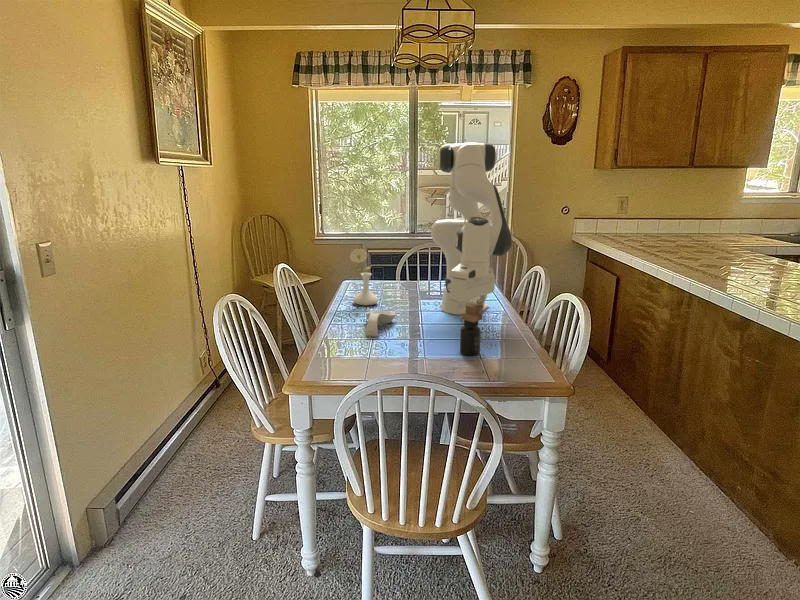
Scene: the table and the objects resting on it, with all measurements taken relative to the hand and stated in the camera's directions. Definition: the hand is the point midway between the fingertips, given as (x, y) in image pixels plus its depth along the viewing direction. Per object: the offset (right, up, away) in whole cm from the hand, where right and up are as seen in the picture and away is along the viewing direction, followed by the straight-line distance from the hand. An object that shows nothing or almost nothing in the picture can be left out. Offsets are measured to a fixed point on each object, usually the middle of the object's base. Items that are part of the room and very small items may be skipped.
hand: (472, 310), depth 166 cm
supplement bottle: (0, -15, +4) cm, 15 cm away
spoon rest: (-32, -7, +29) cm, 44 cm away
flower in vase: (-40, +1, +60) cm, 72 cm away
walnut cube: (0, -3, +1) cm, 3 cm away
